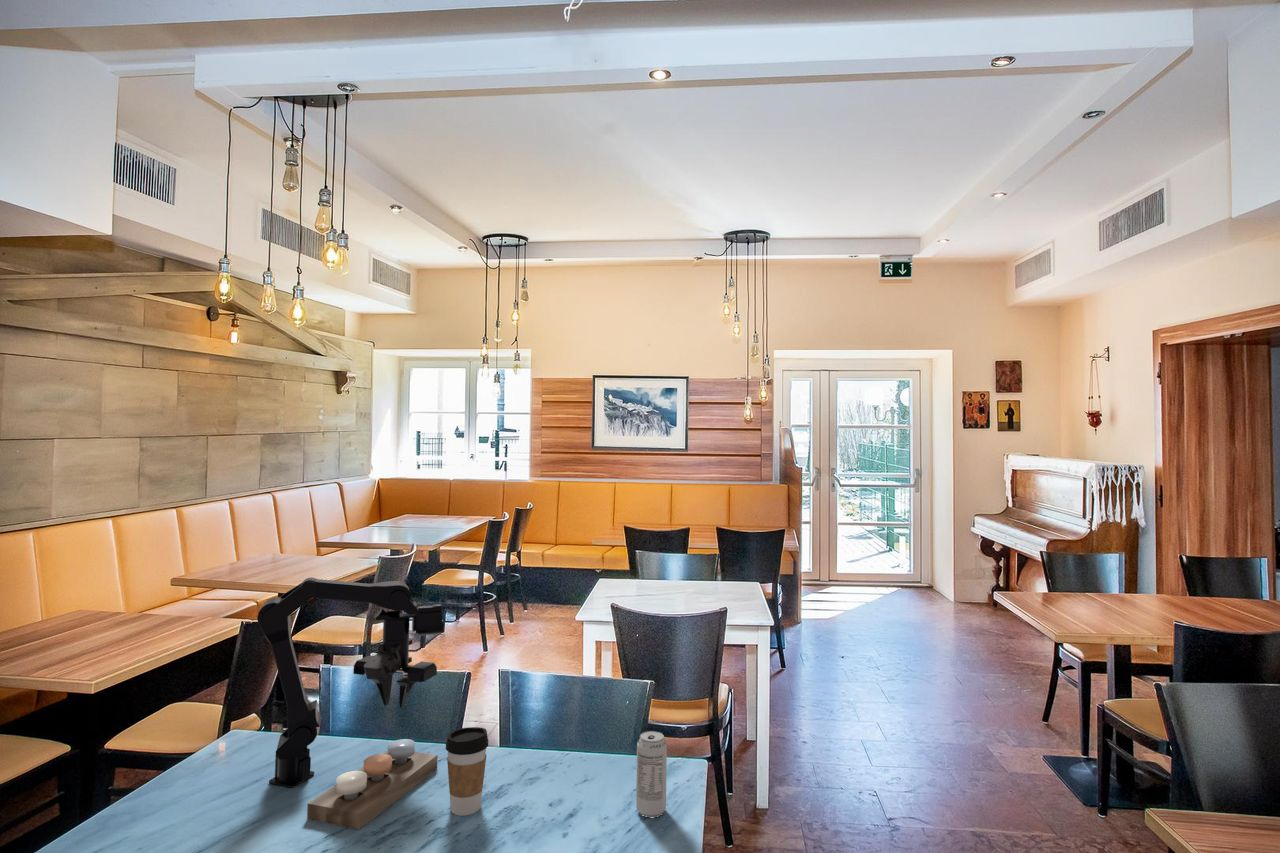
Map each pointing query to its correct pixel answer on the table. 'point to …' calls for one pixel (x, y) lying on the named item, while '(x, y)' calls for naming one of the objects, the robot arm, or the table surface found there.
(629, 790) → the table surface
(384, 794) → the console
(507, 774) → the table surface
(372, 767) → the terracotta button
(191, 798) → the table surface
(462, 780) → the coffee cup
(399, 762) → the slate button
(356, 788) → the cream button
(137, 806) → the table surface
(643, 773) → the energy drink can
